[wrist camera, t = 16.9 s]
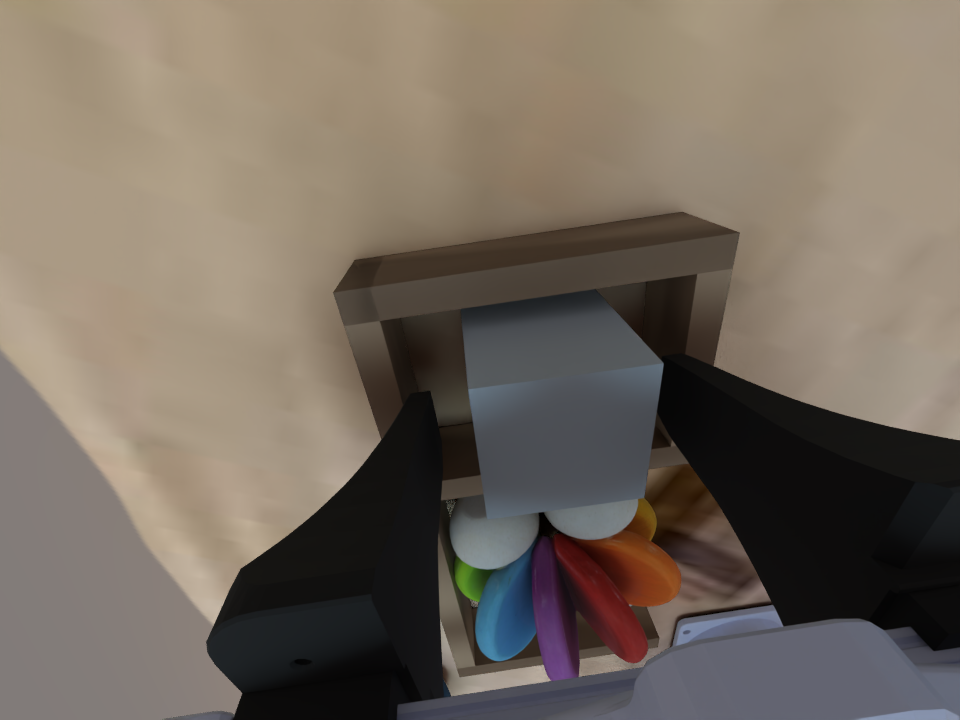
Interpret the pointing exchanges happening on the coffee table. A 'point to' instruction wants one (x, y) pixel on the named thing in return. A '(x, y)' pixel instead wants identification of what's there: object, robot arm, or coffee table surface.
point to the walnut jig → (518, 276)
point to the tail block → (559, 403)
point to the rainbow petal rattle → (561, 578)
